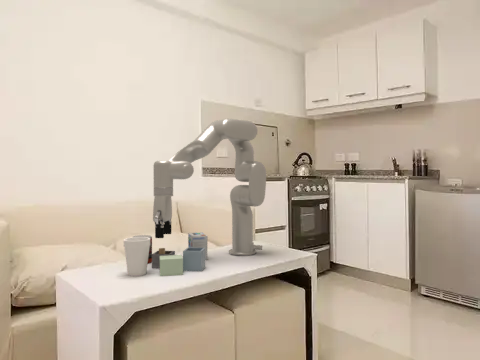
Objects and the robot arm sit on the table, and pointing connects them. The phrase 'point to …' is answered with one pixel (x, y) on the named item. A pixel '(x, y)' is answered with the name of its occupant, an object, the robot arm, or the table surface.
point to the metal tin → (157, 258)
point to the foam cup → (137, 255)
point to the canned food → (149, 248)
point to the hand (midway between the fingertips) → (163, 235)
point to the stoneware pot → (193, 259)
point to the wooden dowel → (161, 250)
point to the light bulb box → (198, 241)
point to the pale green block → (171, 265)
